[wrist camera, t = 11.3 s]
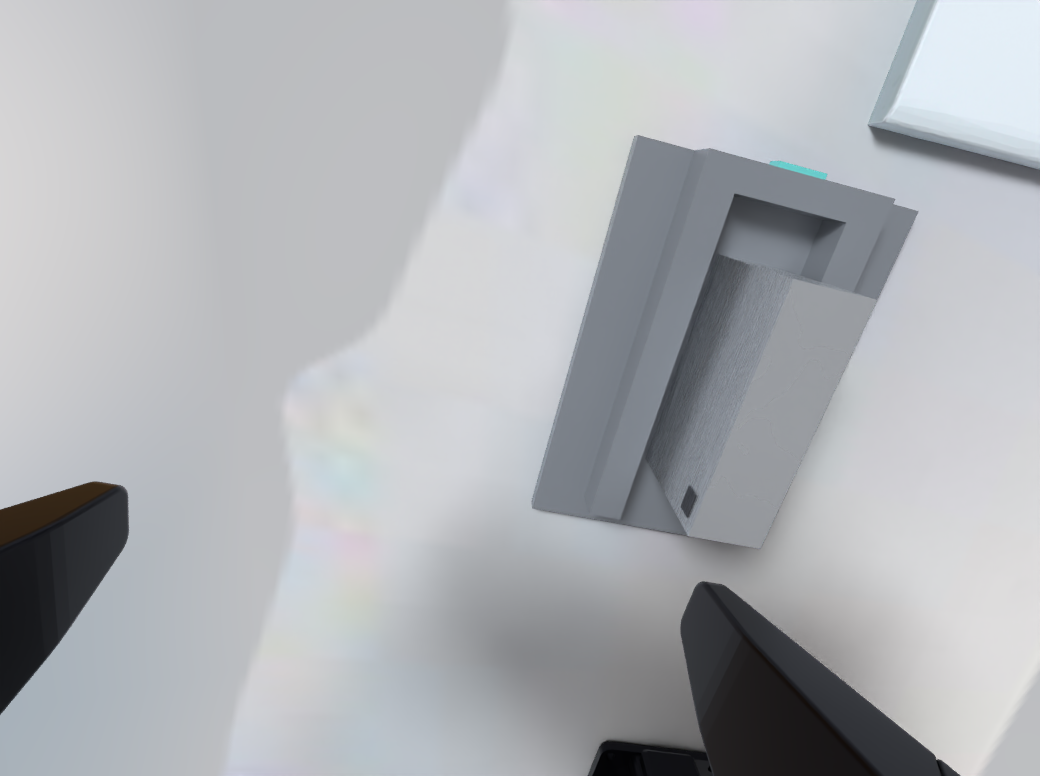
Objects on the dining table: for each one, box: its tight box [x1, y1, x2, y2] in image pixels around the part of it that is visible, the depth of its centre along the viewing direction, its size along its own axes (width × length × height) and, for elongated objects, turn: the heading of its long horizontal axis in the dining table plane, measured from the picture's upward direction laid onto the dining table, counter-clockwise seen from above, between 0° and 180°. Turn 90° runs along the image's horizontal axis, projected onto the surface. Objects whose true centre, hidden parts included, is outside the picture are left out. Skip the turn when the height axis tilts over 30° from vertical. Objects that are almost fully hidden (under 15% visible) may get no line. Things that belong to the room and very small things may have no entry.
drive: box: [645, 254, 877, 549], centre depth 18 cm, size 8×2×5 cm, turn 167°
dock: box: [532, 135, 918, 545], centre depth 20 cm, size 14×10×2 cm
